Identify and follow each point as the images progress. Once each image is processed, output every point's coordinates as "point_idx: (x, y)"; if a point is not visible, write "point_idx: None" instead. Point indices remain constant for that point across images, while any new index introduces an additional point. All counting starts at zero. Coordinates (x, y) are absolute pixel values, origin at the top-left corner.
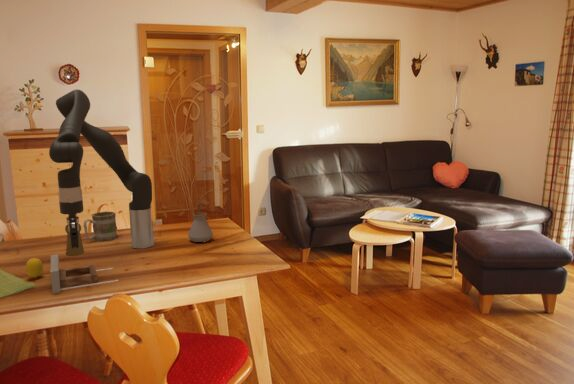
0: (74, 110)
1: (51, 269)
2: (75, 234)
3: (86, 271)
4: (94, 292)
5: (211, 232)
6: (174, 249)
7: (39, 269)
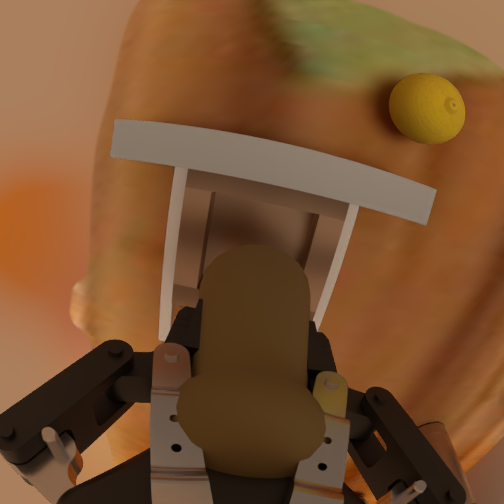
0: None
1: (154, 126)
2: (108, 391)
3: None
4: (106, 252)
5: None
6: None
7: (396, 119)
